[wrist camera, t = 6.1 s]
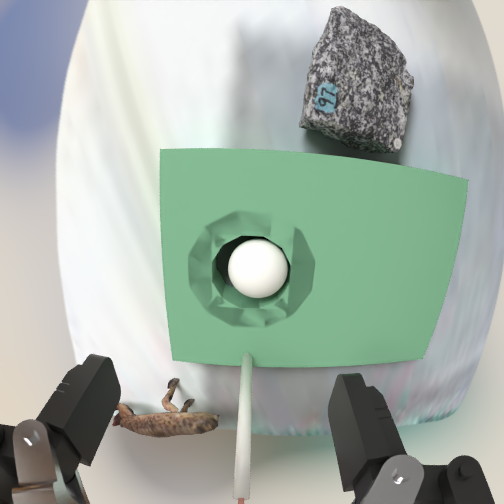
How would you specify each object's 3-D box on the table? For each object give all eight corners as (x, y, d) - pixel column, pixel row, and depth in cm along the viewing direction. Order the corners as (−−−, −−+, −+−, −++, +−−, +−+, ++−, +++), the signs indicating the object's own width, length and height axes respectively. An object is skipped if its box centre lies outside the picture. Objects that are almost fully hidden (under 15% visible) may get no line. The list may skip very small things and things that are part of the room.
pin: (242, 352, 21) (233, 494, 10) (252, 353, 21) (249, 495, 10) (241, 380, 22) (233, 511, 11) (251, 380, 22) (247, 512, 11)
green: (171, 149, 19) (160, 149, 17) (450, 176, 19) (468, 179, 17) (179, 342, 24) (172, 360, 22) (412, 343, 24) (422, 358, 22)
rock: (411, 55, 16) (438, 41, 12) (379, 164, 20) (406, 168, 16) (324, 13, 16) (337, -12, 12) (284, 125, 19) (291, 117, 15)
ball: (220, 238, 18) (285, 243, 17) (239, 235, 22) (292, 239, 21) (218, 301, 19) (280, 308, 18) (236, 287, 22) (288, 293, 21)
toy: (162, 383, 33) (243, 426, 23) (113, 424, 28) (178, 492, 17) (139, 351, 32) (215, 389, 21) (85, 394, 26) (138, 462, 15)
